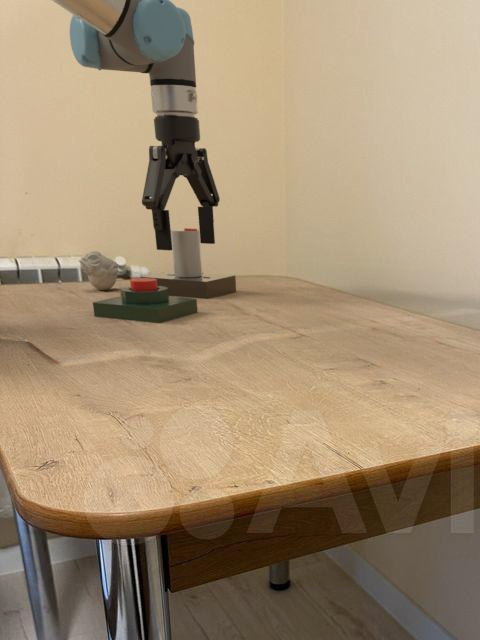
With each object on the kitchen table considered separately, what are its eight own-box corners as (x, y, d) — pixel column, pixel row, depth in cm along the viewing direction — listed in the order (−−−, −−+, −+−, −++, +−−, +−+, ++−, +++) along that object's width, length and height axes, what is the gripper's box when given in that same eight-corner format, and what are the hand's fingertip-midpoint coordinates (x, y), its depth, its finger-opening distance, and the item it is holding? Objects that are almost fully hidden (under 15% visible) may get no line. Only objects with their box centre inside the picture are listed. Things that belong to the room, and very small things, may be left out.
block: (94, 316, 108) (90, 290, 107) (136, 306, 117) (133, 282, 115) (159, 323, 104) (156, 295, 103) (197, 312, 113) (195, 287, 111)
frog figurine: (78, 289, 133) (73, 250, 130) (115, 286, 137) (111, 249, 134) (88, 293, 129) (83, 253, 126) (126, 290, 133) (122, 252, 130)
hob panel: (142, 293, 130) (140, 275, 129) (174, 286, 138) (172, 269, 137) (207, 299, 125) (205, 280, 124) (236, 291, 134) (235, 274, 133)
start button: (125, 292, 108) (124, 280, 108) (142, 288, 112) (141, 277, 111) (147, 294, 107) (146, 282, 106) (163, 290, 110) (162, 279, 110)
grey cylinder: (169, 276, 129) (164, 228, 126) (184, 273, 134) (181, 226, 130) (192, 278, 128) (188, 229, 124) (207, 275, 132) (204, 228, 129)
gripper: (148, 109, 108) (162, 254, 117) (233, 120, 130) (240, 241, 138) (109, 110, 111) (125, 251, 119) (198, 121, 132) (207, 240, 141)
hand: (187, 246), depth 129 cm, fingers open, 13 cm apart
